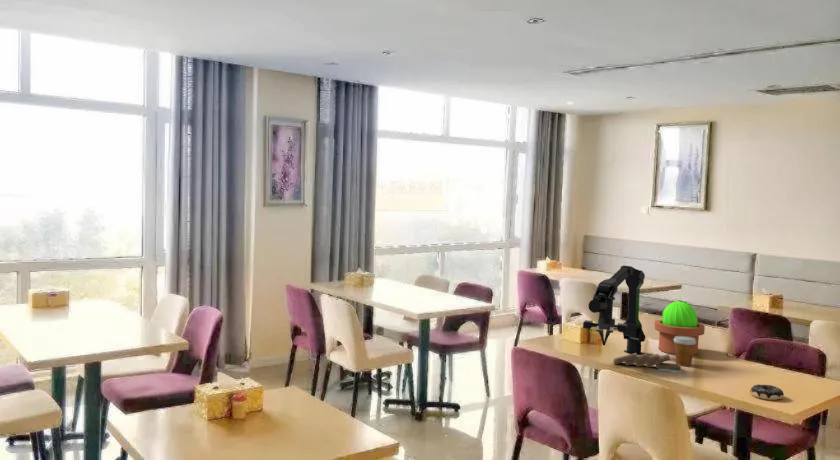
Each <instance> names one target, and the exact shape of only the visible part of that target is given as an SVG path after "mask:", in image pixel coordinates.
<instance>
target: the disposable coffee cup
mask: <svg viewBox="0 0 840 460" xmlns="http://www.w3.org/2000/svg"><path fill="white" fill-rule="evenodd" d="M674 343H675V364H680V366H681V367H690V366H691V367H692V361H693V356H694V355H693V352H694V347H695V344H696V341H695V338H692V337H688V336H675V338H674Z"/></svg>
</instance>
